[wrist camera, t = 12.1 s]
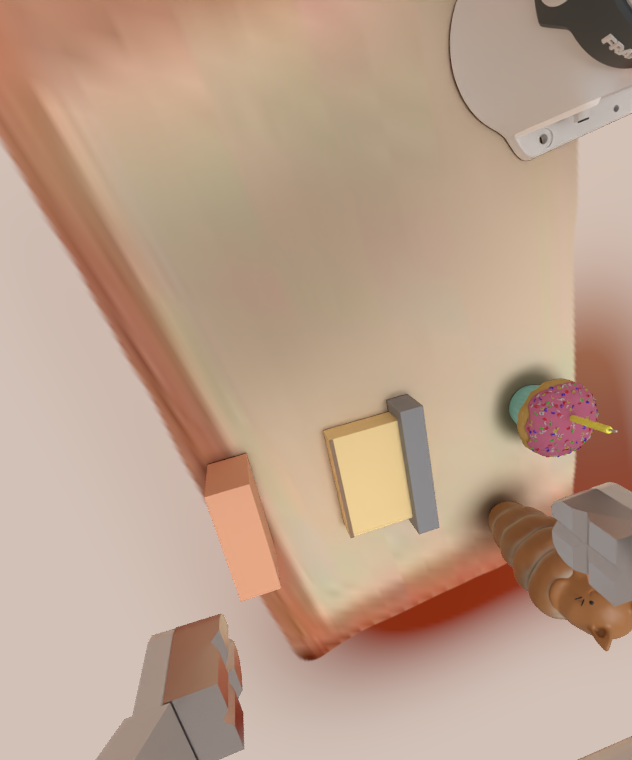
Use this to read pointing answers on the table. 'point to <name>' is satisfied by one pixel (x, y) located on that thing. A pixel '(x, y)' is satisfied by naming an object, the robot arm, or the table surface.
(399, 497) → the yellow slab with bar
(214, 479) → the block
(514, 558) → the cat ice cream
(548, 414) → the cupcake
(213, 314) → the table surface
